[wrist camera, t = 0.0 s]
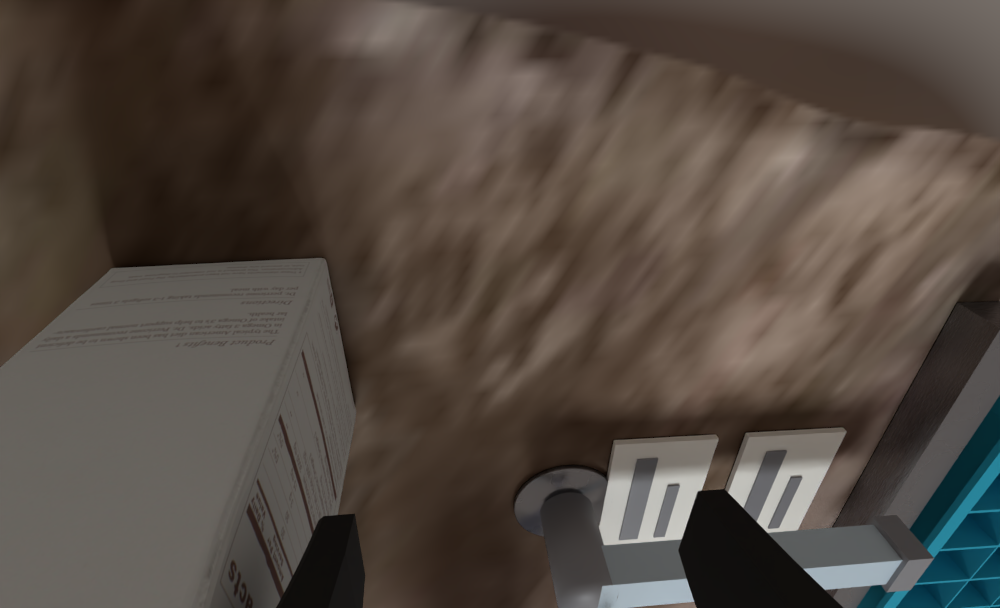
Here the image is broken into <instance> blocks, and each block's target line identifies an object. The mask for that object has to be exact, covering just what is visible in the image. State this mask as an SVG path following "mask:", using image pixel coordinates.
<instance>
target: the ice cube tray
mask: <svg viewBox="0 0 1000 608" xmlns="http://www.w3.org/2000/svg"><path fill="white" fill-rule="evenodd" d="M909 530H910V531H911V532H912V533H913V534H914V535H915V537H916V538H917V539H918V540H919V541H920V542H921V544H922V545H923V546H924V547H925V548H926V549H927V550H928V552H929V553H930V554H931V555H932V556H933V557H934V559H933V561H932V562H931V563H930V565H929V566H928V567H927V569H926V570H925V571H924V573H923V574H922V575H921V577H920V578H919V579H918V581H917V582H916V583H915V585H914V586H913V588H912V589H911V590H907V591H896V592H886V591H885V590H884V588H883V587H882V586H881V585H873V586H871V587H870V589H869V590H868V592H867V593H866V595H865V596H864V598H863V599H862V600H861V602H860V603H859V605H858V606H857V608H1000V396H999V397H998V399H997V400H996V402H995V403H994V405H993V406H992V408H991V409H990V411H989V412H988V414H987V415H986V417H985V418H984V419H983V421H982V422H981V424H980V425H979V427H978V428H977V430H976V431H975V433H974V434H973V436H972V437H971V439H970V440H969V442H968V443H967V445H966V446H965V448H964V449H963V451H962V452H961V454H960V455H959V457H958V458H957V460H956V461H955V463H954V464H953V465H952V467H951V468H950V470H949V471H948V473H947V474H946V476H945V477H944V479H943V480H942V482H941V483H940V485H939V486H938V488H937V489H936V491H935V492H934V494H933V495H932V497H931V498H930V500H929V501H928V503H927V504H926V506H925V507H924V509H923V510H922V511H921V513H920V514H919V516H918V517H917V519H916V520H915V522H914V523H913V525H912V526H911V528H910V529H909Z"/></svg>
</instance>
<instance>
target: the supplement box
mask: <svg viewBox="0 0 1000 608" xmlns="http://www.w3.org/2000/svg"><path fill="white" fill-rule="evenodd" d="M355 417H356V409H355V405H354V401H353V396H352V391H351V386H350V381H349V376H348V370H347V365H346V360H345V355H344V349H343V344H342V339H341V333H340V328H339V323H338V318H337V313H336V307H335V302H334V297H333V292H332V288H331V282H330V277H329V271H328V266H327V262H326V260H325V259H324V258H308V259H283V260H263V261H244V262H224V263H205V264H185V265H166V266H147V267H127V268H111V269H110V270H109V271H108V272H107V273H106V274H105V275H104V276H103V277H102V278H101V279H100V280H99V281H97V282H96V283H95V284H94V285H93V286H92V287H91V288H90V289H88V290H87V291H86V292H85V293H84V294H83V295H81V296H80V297H79V298H78V299H77V300H76V301H75V302H74V303H72V304H71V305H70V306H69V307H68V308H67V309H66V310H65V311H64V312H62V313H61V314H60V315H59V316H58V317H57V318H56V319H55V320H53V321H52V322H51V323H50V324H49V325H48V326H47V327H46V328H45V329H43V330H42V331H41V332H40V333H39V334H38V335H37V336H36V337H34V338H33V339H32V340H31V341H30V342H29V343H28V344H26V345H25V346H24V347H23V348H22V349H21V350H20V351H18V352H17V353H16V354H15V355H14V356H13V357H12V358H11V359H9V360H8V361H7V362H6V363H5V364H4V365H3V366H2V367H0V608H276V607H277V605H278V603H279V601H280V600H281V598H282V596H283V594H284V592H285V590H286V588H287V586H288V584H289V582H290V581H291V579H292V577H293V575H294V573H295V571H296V569H297V567H298V565H299V563H300V561H301V558H302V556H303V554H304V552H305V550H306V548H307V546H308V543H309V541H310V539H311V537H312V535H313V532H314V530H315V527H316V525H317V523H318V520H319V519H321V518H322V517H323V516H333V515H338V510H339V505H340V499H341V494H342V490H343V482H344V477H345V472H346V467H347V461H348V456H349V451H350V446H351V441H352V436H353V430H354V424H355Z"/></svg>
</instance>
